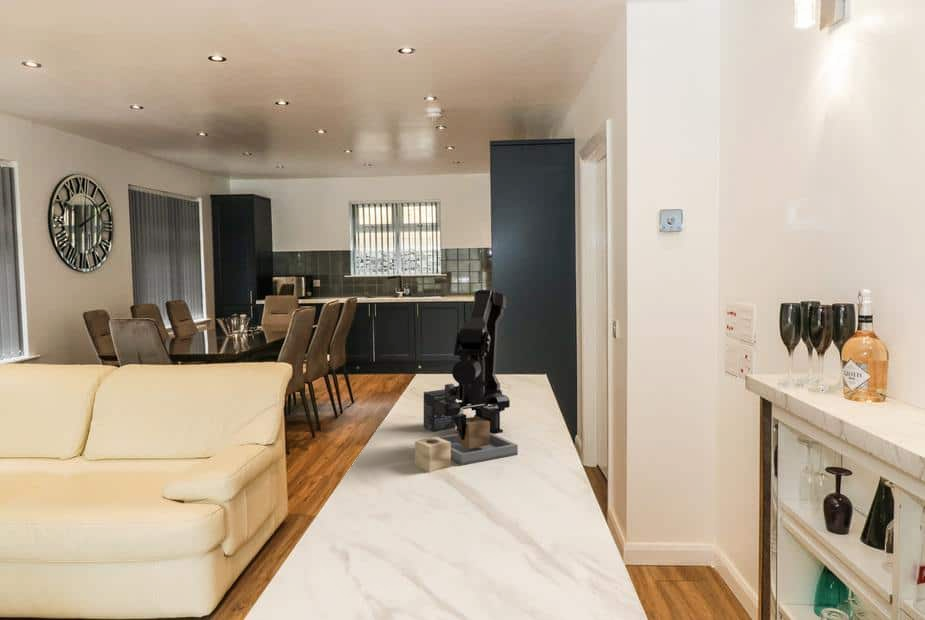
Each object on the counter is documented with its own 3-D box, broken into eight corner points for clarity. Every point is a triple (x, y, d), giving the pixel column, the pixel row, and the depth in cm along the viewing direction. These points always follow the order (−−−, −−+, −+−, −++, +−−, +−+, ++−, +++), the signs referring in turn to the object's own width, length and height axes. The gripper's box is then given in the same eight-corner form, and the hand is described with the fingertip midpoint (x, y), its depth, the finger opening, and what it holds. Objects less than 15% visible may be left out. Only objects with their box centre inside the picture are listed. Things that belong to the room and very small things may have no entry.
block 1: (436, 460, 153) (435, 436, 152) (450, 467, 148) (450, 441, 148) (415, 465, 149) (415, 440, 149) (429, 472, 145) (429, 446, 144)
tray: (483, 438, 171) (483, 429, 171) (517, 454, 157) (517, 444, 157) (430, 447, 163) (430, 438, 163) (461, 465, 149) (461, 455, 149)
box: (433, 432, 178) (432, 395, 177) (423, 427, 182) (422, 391, 182) (456, 428, 182) (456, 391, 181) (446, 423, 187) (446, 388, 186)
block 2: (477, 439, 164) (477, 415, 163) (489, 444, 159) (489, 421, 158) (457, 442, 161) (457, 418, 160) (469, 448, 156) (469, 424, 155)
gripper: (487, 368, 170) (487, 425, 171) (425, 375, 161) (426, 435, 162) (511, 375, 160) (510, 435, 162) (446, 382, 151) (446, 446, 152)
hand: (473, 437), depth 160 cm, fingers closed on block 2, 6 cm apart
